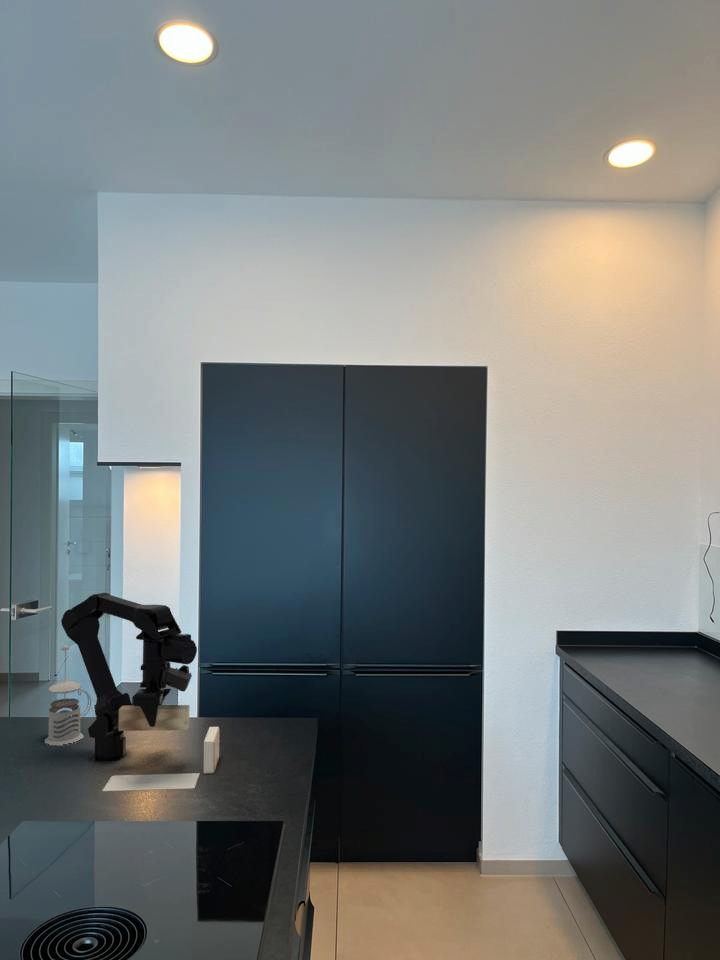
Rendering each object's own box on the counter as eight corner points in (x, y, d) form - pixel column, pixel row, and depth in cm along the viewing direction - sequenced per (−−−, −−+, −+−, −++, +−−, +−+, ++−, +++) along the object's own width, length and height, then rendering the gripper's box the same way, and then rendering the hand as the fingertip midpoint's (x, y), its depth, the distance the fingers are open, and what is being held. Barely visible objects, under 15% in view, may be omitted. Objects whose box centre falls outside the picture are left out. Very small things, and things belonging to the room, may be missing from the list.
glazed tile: (203, 776, 159) (203, 741, 159) (209, 759, 169) (209, 726, 169) (214, 775, 160) (214, 741, 160) (219, 758, 169) (219, 726, 170)
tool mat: (102, 793, 150) (102, 790, 150) (112, 778, 158) (112, 775, 158) (194, 790, 151) (194, 788, 151) (199, 775, 159) (199, 773, 159)
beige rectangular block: (118, 730, 161) (118, 709, 161) (121, 726, 164) (122, 705, 164) (186, 730, 162) (187, 709, 162) (189, 725, 165) (189, 705, 165)
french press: (39, 737, 183) (40, 644, 183) (83, 728, 190) (84, 638, 191) (50, 748, 175) (51, 651, 176) (96, 738, 183) (97, 645, 183)
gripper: (181, 669, 155) (180, 738, 155) (195, 649, 173) (194, 710, 173) (132, 669, 154) (130, 738, 154) (151, 649, 172) (150, 711, 172)
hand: (154, 724), depth 163 cm, fingers closed on beige rectangular block, 3 cm apart
